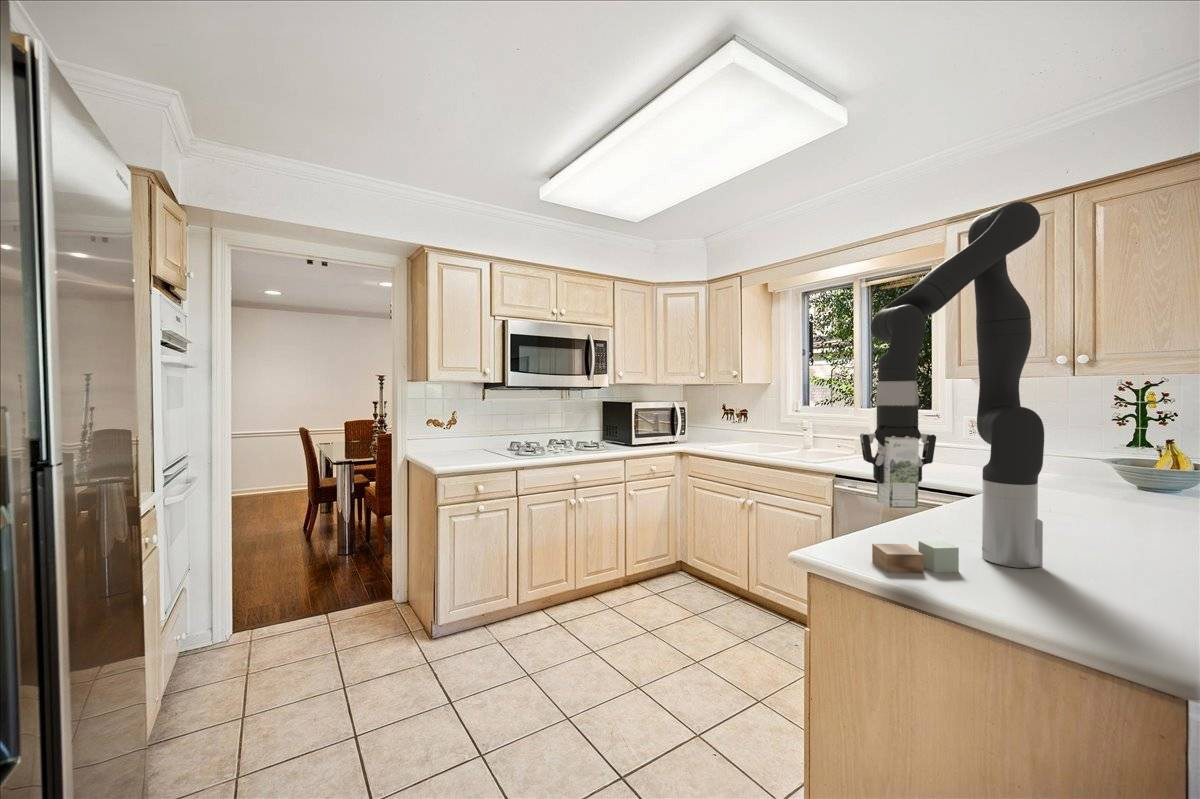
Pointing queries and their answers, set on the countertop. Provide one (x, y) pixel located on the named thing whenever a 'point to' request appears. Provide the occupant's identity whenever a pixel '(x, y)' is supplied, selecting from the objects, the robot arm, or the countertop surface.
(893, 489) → the syrup box
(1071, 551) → the countertop surface
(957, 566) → the grey-green cube
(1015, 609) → the countertop surface
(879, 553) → the walnut block
